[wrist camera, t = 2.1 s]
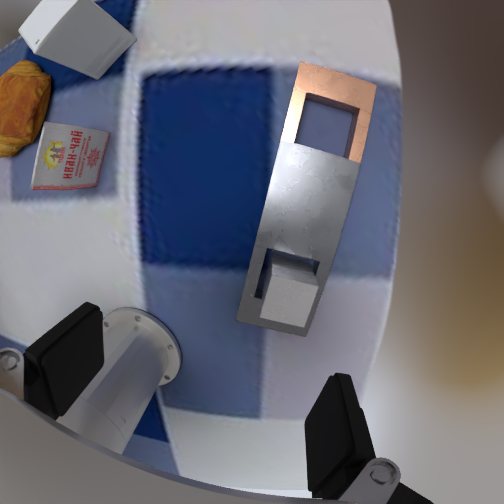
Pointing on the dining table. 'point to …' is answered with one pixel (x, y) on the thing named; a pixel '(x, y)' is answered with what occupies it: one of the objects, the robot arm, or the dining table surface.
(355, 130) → the rail
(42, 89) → the croissant
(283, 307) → the steel peg
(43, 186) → the white printed paper bag
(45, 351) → the robot arm
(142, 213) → the dining table surface
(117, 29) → the supplement box
